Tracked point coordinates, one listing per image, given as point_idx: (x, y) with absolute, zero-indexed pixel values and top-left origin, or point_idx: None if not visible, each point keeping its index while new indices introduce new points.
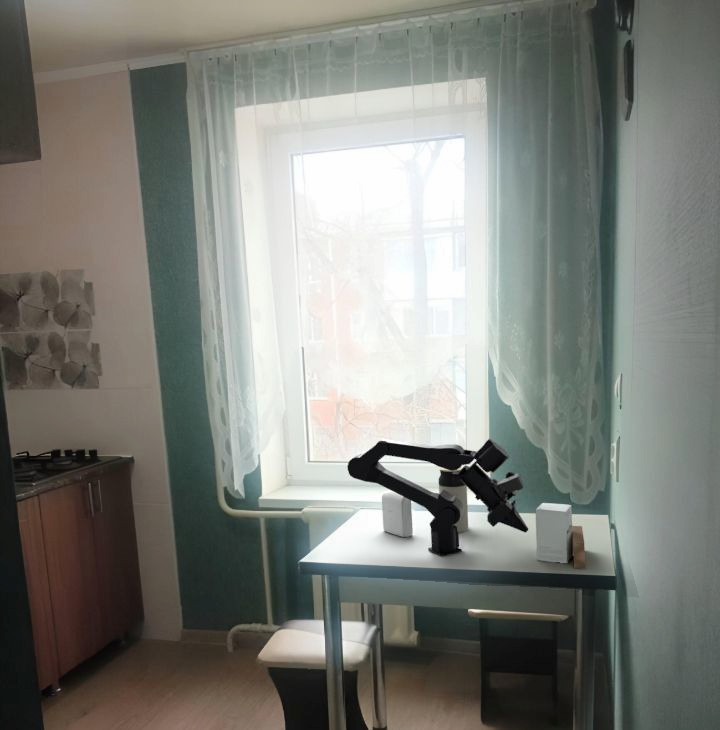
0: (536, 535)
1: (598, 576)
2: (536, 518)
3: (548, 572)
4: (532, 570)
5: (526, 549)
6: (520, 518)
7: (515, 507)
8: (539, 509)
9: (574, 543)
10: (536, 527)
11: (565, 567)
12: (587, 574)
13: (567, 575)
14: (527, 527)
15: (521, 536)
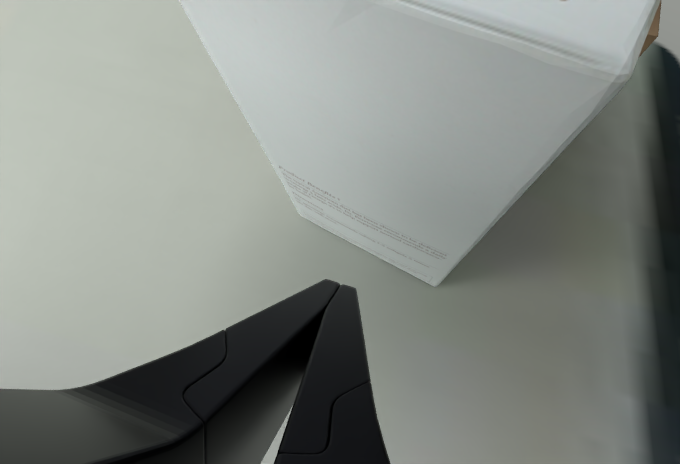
0: (472, 247)
1: (670, 75)
2: (546, 167)
3: (638, 280)
4: (612, 362)
5: (241, 296)
6: (281, 350)
7: (142, 457)
8: (654, 3)
9: (652, 35)
10: (497, 219)
11: (549, 176)
12: (647, 109)
13: (676, 198)
14: (325, 284)
15: (24, 264)
